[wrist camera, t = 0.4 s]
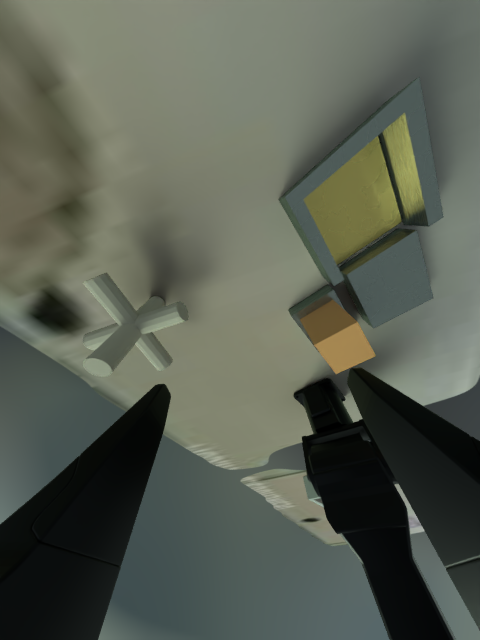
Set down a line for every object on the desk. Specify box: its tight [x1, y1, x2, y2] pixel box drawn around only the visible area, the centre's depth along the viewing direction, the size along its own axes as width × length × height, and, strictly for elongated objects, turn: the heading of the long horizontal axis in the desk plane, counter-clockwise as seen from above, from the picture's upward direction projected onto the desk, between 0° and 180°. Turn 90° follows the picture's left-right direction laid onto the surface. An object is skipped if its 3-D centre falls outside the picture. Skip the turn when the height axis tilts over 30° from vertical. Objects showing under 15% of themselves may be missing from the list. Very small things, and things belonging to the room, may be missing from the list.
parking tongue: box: [289, 285, 345, 352], centre depth 21 cm, size 7×5×2 cm
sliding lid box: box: [279, 77, 443, 328], centre depth 16 cm, size 17×9×2 cm, turn 39°
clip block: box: [300, 300, 376, 374], centre depth 18 cm, size 5×4×4 cm
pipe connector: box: [83, 273, 188, 377], centre depth 16 cm, size 10×10×10 cm
